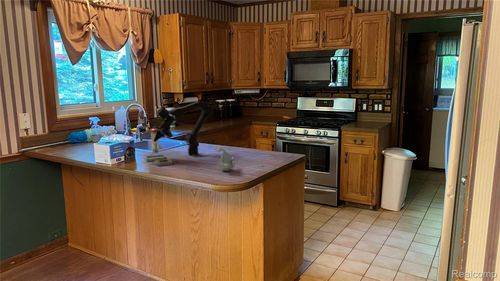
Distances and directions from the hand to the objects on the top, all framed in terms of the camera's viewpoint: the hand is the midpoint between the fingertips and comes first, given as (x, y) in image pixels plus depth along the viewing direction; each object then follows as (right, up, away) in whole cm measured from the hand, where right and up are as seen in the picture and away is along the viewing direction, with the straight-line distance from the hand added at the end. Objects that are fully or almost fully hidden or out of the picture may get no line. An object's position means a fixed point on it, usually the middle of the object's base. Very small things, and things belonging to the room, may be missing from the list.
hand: (152, 140), depth 249 cm
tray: (+1, -13, +5) cm, 14 cm away
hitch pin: (+1, -8, +2) cm, 8 cm away
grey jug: (+52, -18, -28) cm, 62 cm away
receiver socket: (+10, -15, -10) cm, 20 cm away
